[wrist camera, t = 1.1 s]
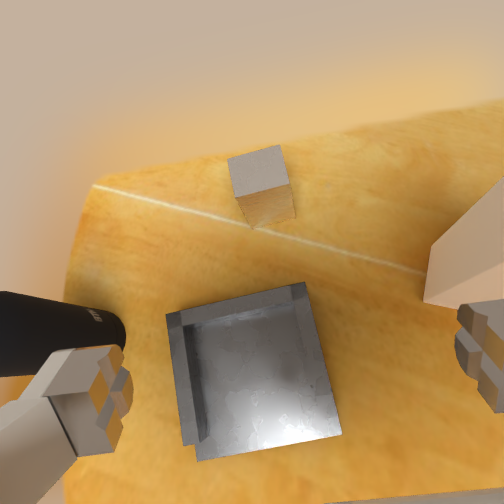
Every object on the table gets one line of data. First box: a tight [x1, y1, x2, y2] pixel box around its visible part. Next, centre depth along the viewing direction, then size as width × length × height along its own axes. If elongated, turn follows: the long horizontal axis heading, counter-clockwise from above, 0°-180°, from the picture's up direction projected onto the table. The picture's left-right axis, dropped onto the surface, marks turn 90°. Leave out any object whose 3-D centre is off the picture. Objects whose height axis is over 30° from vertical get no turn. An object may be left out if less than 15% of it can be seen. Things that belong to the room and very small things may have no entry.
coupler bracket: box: [166, 282, 342, 462], centre depth 37 cm, size 14×14×4 cm
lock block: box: [227, 145, 296, 229], centre depth 38 cm, size 4×5×9 cm
